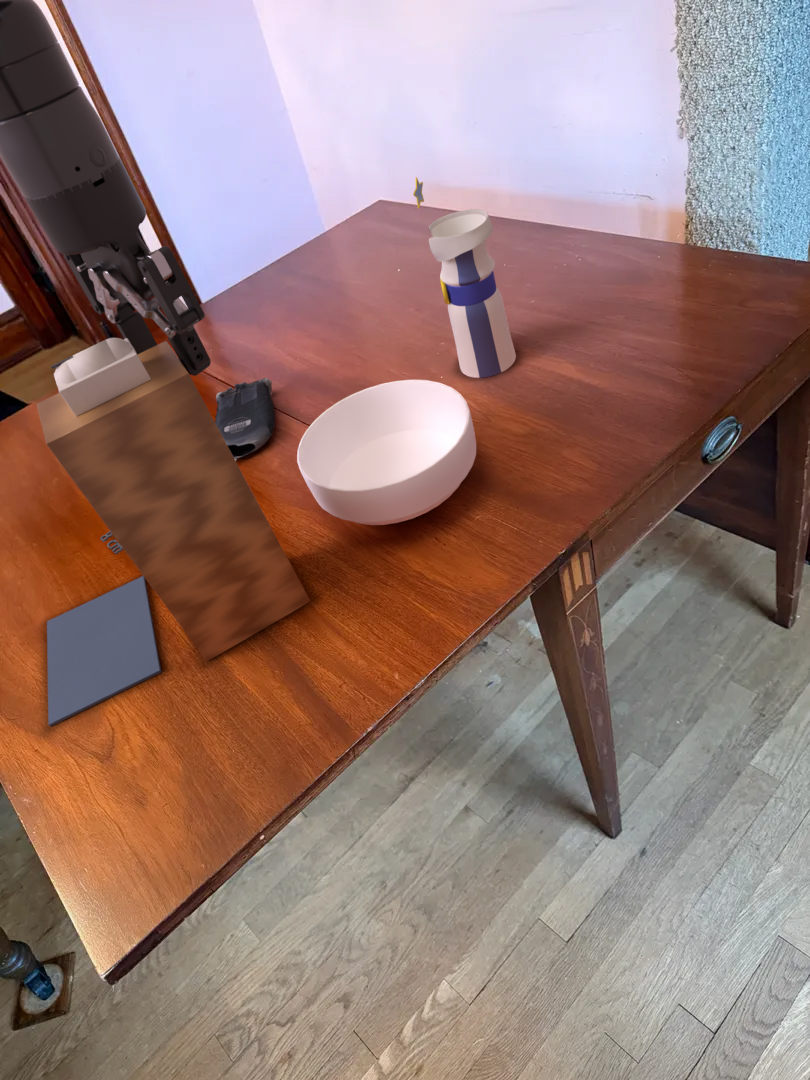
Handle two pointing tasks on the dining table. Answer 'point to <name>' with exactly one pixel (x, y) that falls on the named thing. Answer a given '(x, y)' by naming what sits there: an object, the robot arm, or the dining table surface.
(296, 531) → the dining table surface
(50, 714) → the mouse pad
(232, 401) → the electronic device
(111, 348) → the white boxy piece
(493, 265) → the water bottle
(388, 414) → the bowl
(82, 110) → the robot arm
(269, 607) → the block
